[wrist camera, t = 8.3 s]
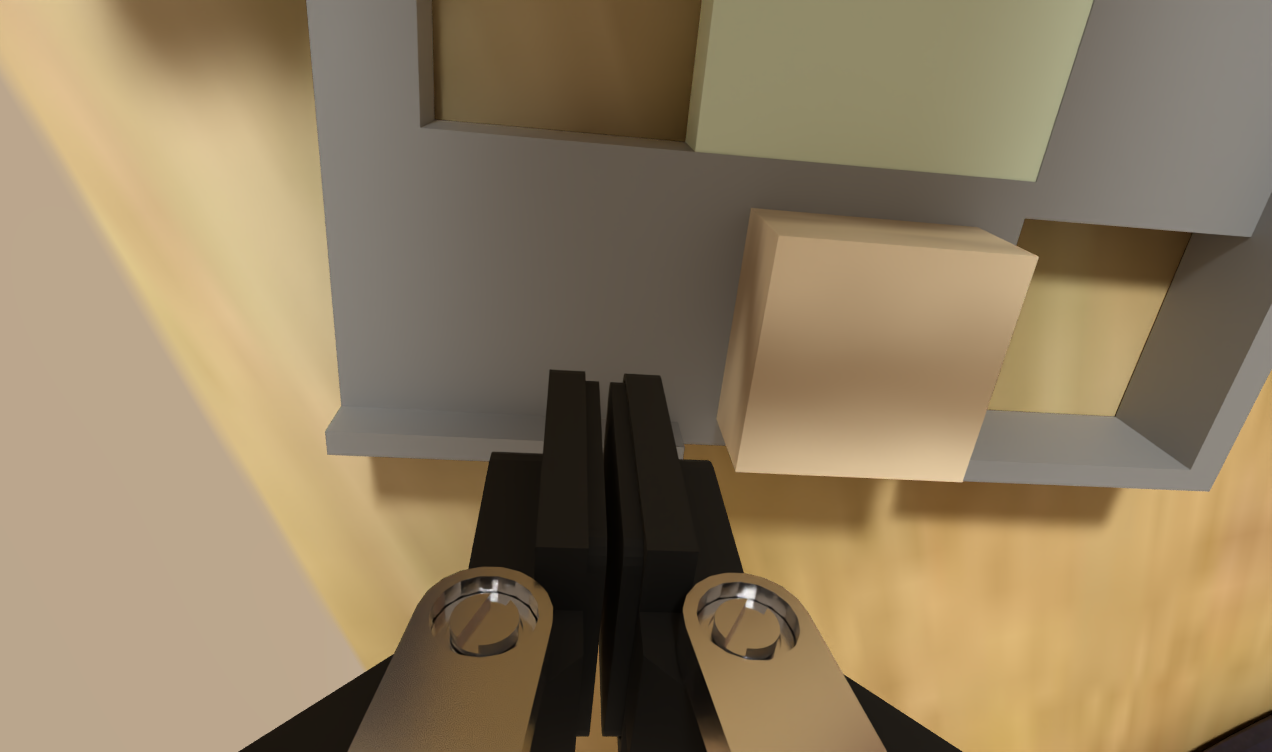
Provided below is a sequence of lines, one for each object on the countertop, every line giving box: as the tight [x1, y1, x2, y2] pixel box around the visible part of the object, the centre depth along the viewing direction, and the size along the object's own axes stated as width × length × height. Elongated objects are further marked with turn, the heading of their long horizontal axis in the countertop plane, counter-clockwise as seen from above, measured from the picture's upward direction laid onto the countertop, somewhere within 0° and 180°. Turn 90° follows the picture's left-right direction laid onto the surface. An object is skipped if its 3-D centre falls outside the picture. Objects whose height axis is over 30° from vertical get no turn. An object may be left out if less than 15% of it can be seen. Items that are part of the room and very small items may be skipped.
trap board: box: [306, 0, 1272, 491], centre depth 20 cm, size 16×27×4 cm, turn 85°
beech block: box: [716, 208, 1039, 482], centre depth 20 cm, size 6×6×3 cm
